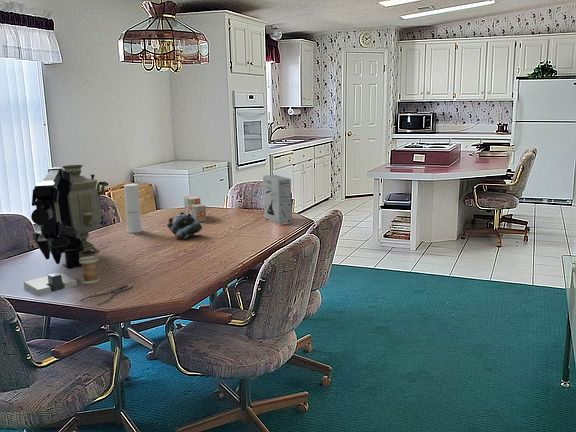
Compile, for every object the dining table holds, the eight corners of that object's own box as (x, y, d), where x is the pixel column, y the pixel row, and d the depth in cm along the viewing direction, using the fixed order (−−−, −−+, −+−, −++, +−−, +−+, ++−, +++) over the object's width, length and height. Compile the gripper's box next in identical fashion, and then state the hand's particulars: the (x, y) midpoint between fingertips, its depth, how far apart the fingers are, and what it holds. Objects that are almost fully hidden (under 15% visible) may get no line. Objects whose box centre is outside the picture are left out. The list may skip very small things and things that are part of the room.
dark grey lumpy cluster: (179, 241, 276) (166, 216, 277) (174, 246, 287) (162, 221, 288) (205, 229, 283) (193, 204, 283) (200, 233, 294) (188, 210, 294)
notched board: (24, 286, 212) (23, 281, 212) (61, 278, 221) (60, 273, 221) (38, 295, 202) (38, 289, 202) (76, 285, 212) (76, 280, 211)
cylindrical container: (143, 229, 305) (140, 183, 300) (138, 232, 298) (135, 185, 293) (130, 229, 306) (126, 183, 301) (125, 232, 299) (121, 185, 294)
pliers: (76, 301, 193) (111, 283, 212) (77, 304, 193) (111, 285, 212) (101, 304, 190) (134, 285, 209) (101, 306, 190) (134, 287, 209)
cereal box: (264, 218, 327) (262, 175, 322) (276, 217, 330) (274, 174, 325) (279, 225, 308) (278, 179, 303) (292, 223, 311) (291, 178, 306)
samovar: (49, 265, 240) (38, 171, 232) (44, 252, 262) (34, 166, 255) (121, 255, 253) (113, 166, 245) (110, 243, 276) (103, 161, 268)
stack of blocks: (206, 221, 323) (205, 200, 321) (195, 222, 320) (194, 201, 318) (195, 215, 342) (193, 195, 340) (184, 216, 339) (183, 196, 337)
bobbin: (78, 281, 216) (75, 259, 215) (95, 277, 221) (93, 255, 219) (86, 285, 211) (83, 262, 210) (103, 281, 216) (101, 258, 214)
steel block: (49, 289, 208) (47, 274, 207) (58, 287, 211) (57, 272, 210) (53, 291, 206) (51, 276, 205) (62, 289, 208) (61, 274, 207)
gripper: (81, 219, 202) (85, 261, 205) (59, 213, 215) (64, 252, 218) (50, 224, 194) (54, 268, 197) (29, 217, 208) (34, 258, 211)
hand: (52, 261), depth 206 cm, fingers open, 9 cm apart
